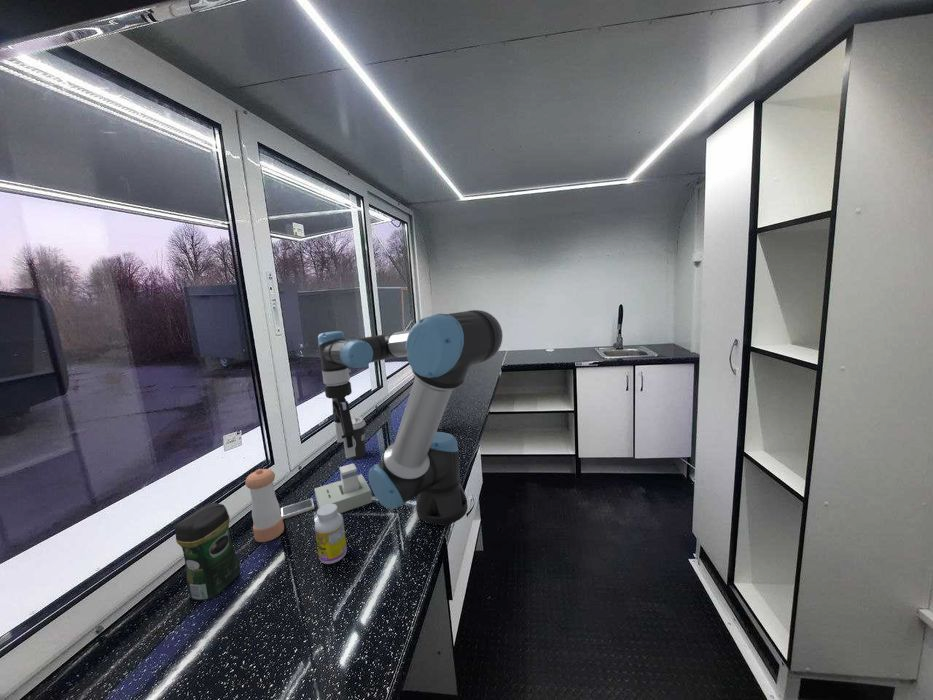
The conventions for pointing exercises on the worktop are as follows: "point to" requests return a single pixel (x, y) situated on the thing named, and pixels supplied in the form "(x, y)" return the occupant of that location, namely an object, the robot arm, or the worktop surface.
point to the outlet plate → (344, 502)
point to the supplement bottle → (330, 534)
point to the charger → (349, 478)
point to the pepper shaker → (264, 506)
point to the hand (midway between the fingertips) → (346, 448)
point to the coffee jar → (207, 551)
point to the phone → (297, 508)
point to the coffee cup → (359, 437)
